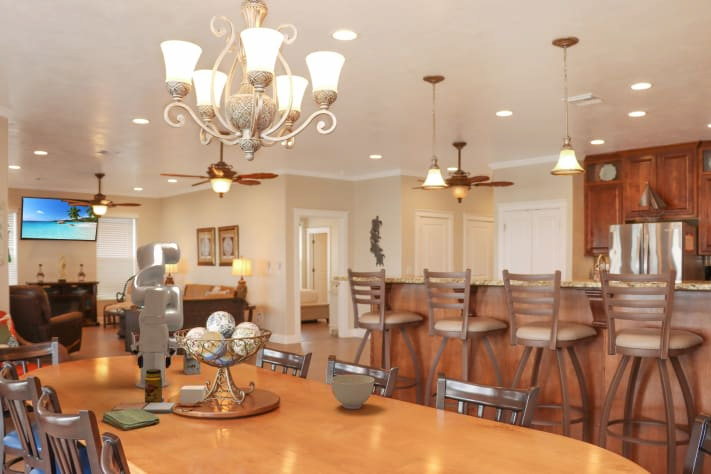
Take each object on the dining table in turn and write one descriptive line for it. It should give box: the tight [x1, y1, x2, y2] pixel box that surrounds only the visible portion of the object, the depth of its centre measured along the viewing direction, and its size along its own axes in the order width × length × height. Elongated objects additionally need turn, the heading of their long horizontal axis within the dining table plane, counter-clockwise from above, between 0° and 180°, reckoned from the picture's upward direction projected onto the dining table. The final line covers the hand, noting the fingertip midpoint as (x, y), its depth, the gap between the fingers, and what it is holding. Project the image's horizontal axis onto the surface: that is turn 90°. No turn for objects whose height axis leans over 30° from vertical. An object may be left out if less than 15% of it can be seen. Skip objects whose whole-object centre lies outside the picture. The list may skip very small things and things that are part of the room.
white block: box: [179, 385, 207, 404], centre depth 234 cm, size 6×8×6 cm
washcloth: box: [102, 408, 161, 431], centre depth 210 cm, size 13×18×3 cm
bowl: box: [330, 374, 375, 410], centre depth 232 cm, size 16×16×10 cm
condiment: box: [142, 369, 165, 403], centre depth 236 cm, size 7×8×12 cm
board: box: [110, 402, 178, 414], centre depth 225 cm, size 10×20×1 cm, turn 92°
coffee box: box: [182, 349, 201, 375], centre depth 290 cm, size 9×6×16 cm
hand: (154, 367), depth 236 cm, fingers open, 9 cm apart
